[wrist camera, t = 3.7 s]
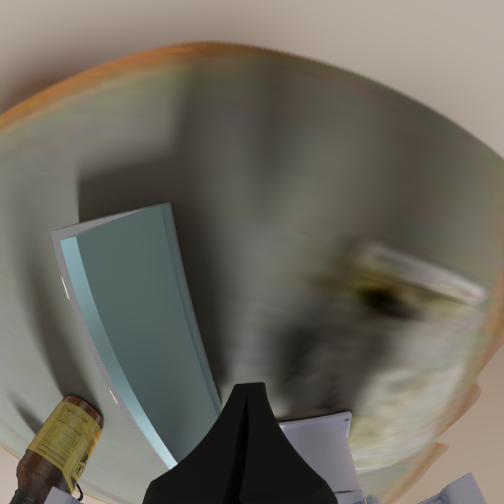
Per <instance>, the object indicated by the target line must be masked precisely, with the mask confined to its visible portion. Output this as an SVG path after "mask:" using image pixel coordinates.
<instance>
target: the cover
mask: <svg viewBox="0 0 504 504" xmlns="http://www.w3.org/2000/svg"><path fill="white" fill-rule="evenodd" d="M60 242H61V247H62V251H63V255H64V258H65V262H66V266H67V269H68V273H69V276H70V279H71V283H72V286H73V289H74V292H75V295H76V298H77V301H78V304H79V306H80V309H81V312H82V315H83V317H84V320H85V322H86V325H87V327H88V330H89V332H90V335H91V337H92V339H93V342H94V344H95V346H96V349H97V351H98V353H99V355H100V357H101V359H102V362H103V364H104V366H105V368H106V370H107V372H108V374H109V376H110V378H111V380H112V381H113V383H114V385H115V387H116V389H117V391H118V393H119V394H120V396H121V398H122V400H123V401H124V403H125V405H126V407H127V408H128V410H129V412H130V413H131V415H132V416H133V418H134V420H135V421H136V423H137V424H138V426H139V427H140V429H141V431H142V432H143V434H144V435H145V437H146V438H147V439H148V441H149V442H150V444H151V445H152V447H153V448H154V449H155V451H156V452H157V453H158V455H159V456H160V457H161V459H162V460H163V461H164V463H165V464H166V465H167V467H168V468H169V469H172V468H173V467H174V466H175V465H177V464H178V463H179V462H180V461H181V460H183V459H184V458H185V457H186V456H187V455H188V454H189V453H190V452H191V451H192V450H193V449H194V448H195V447H196V446H197V445H198V444H199V443H200V442H201V440H202V439H203V438H204V437H205V436H206V434H207V433H208V432H209V430H210V429H211V427H212V426H213V425H214V423H215V422H216V420H217V419H218V417H219V415H220V414H221V412H222V407H221V404H220V401H219V398H218V395H217V392H216V389H215V386H214V383H213V380H212V377H211V373H210V370H209V367H208V364H207V360H206V357H205V354H204V350H203V347H202V343H201V339H200V336H199V332H198V329H197V325H196V321H195V317H194V313H193V310H192V306H191V302H190V298H189V294H188V289H187V285H186V281H185V277H184V272H183V268H182V263H181V259H180V254H179V249H178V245H177V240H176V235H175V230H174V224H173V219H172V214H171V208H170V203H168V204H163V205H158V206H154V207H151V208H148V209H145V210H141V211H138V212H135V213H132V214H129V215H127V216H124V217H121V218H118V219H115V220H112V221H109V222H107V223H104V224H101V225H98V226H96V227H93V228H90V229H88V230H85V231H82V232H80V233H77V234H75V235H72V236H70V237H67V238H65V239H62V240H60Z"/></svg>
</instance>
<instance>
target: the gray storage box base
mask: <svg viewBox="0 0 504 504" xmlns="http://www.w3.org/2000/svg"><path fill="white" fill-rule="evenodd" d="M168 203H170V208H171V214H172V219H173V224H174V230H175V235H176V240H177V245H178V249H179V254H180V259H181V263H182V268H183V272H184V277H185V281H186V285H187V289H188V294H189V298H190V302H191V306H192V310H193V313H194V317H195V321H196V325H197V329H198V332H199V336H200V339H201V343H202V347H203V350H204V354H205V357H206V360H207V364H208V367H209V370H210V373H211V377H212V380H213V383H214V386H215V389H216V392H217V388H216V385H215V382H214V379H213V376H212V372H211V369H210V366H209V362H208V359H207V356H206V352H205V349H204V345H203V342H202V338H201V334H200V331H199V327H198V323H197V319H196V316H195V312H194V308H193V304H192V300H191V296H190V291H189V287H188V283H187V279H186V274H185V270H184V265H183V261H182V256H181V251H180V247H179V242H178V237H177V232H176V226H175V221H174V216H173V210H172V205H171V202H166V203H161V204H156V205H151V206H147V207H142V208H137V209H133V210H128V211H124V212H120V213H115V214H111V215H107V216H103V217H99V218H95V219H91V220H87V221H83V222H80V223H76V224H73V225H70V226H67V227H64V228H61V229H58V230H55V231H52V232H51V236H52V241H53V245H54V249H55V253H56V257H57V260H58V264H59V268H60V271H61V275H62V277H61V278H62V281H63V284H64V287H65V290H66V293H67V296H68V299H70V302H71V305H72V308H73V310H74V313H75V316H76V318H77V321H78V323H79V326H80V328H81V331H82V333H83V336H84V338H85V340H86V342H87V345H88V347H89V349H90V351H91V353H92V356H93V358H94V360H95V362H96V364H97V366H98V368H99V370H100V372H101V374H102V376H103V378H104V380H105V381H106V383H107V385H108V387H109V389H110V392H111V394H112V396H113V397H114V399H115V401H116V402H117V403H118V404H119V406H120V408H121V409H122V411H123V413H124V414H125V416H126V417H127V419H128V421H129V422H130V424H131V425H132V427H133V428H137V429H140V427H139V426H138V424H137V423H136V421H135V420H134V418H133V416H132V415H131V413H130V412H129V410H128V408H127V407H126V405H125V403H124V401H123V400H122V398H121V396H120V394H119V393H118V391H117V389H116V387H115V385H114V383H113V381H112V380H111V378H110V376H109V374H108V372H107V370H106V368H105V366H104V364H103V362H102V359H101V357H100V355H99V353H98V351H97V349H96V346H95V344H94V342H93V339H92V337H91V335H90V332H89V330H88V327H87V325H86V322H85V320H84V317H83V315H82V312H81V309H80V306H79V304H78V301H77V298H76V295H75V292H74V289H73V286H72V283H71V279H70V276H69V273H68V269H67V266H66V262H65V258H64V255H63V251H62V247H61V242H60V240H62V239H65V238H67V237H70V236H72V235H75V234H77V233H80V232H82V231H85V230H88V229H90V228H93V227H96V226H98V225H101V224H104V223H107V222H109V221H112V220H115V219H118V218H121V217H124V216H127V215H129V214H132V213H135V212H138V211H141V210H145V209H148V208H151V207H154V206H158V205H163V204H168ZM217 395H218V392H217ZM218 398H219V395H218ZM219 401H220V398H219ZM220 404H221V401H220ZM221 407H222V404H221Z"/></svg>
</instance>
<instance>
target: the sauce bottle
mask: <svg viewBox="0 0 504 504" xmlns="http://www.w3.org/2000/svg"><path fill="white" fill-rule="evenodd" d="M103 425H104V424H103V419H102V417H101V416H100V415H99V414H98V412H97V411H96V410H95V409H94V408H93V407H92V406H91V405H89V404H88V403H87V402H85V401H83V400H82V399H80V398H78V397H76V396H75V397H74V396H68V397H65V398H64V399H63V400H62V402H60V403H59V404H58V405H57V407H56V408H55V409H54V411H53V412H52V413H51V415H50V416H49V417H48V419H47V420H46V422H45V423H44V425H43V426H42V427H41V429H40V430H39V432H38V433H37V435H36V436H35V438H34V439H33V440H32V442H31V443H30V445H29V446H28V448H27V449H26V453H25V455H24V456H23V458H22V459H21V460H20V462H19V464H18V466H17V475H16V476H17V478H18V489H17V490H16V491H15V495H14V497H13V498H12V500H11V502H10V504H44V503H45V501H46V499H47V497H48V495H49V493H50V491H51V489H52V487H56V488H58V489H60V490H62V491H64V492H66V493H68V494H69V495H71V496H72V494H73V491H74V489H75V487H76V485H77V483H78V481H79V479H80V477H81V475H82V473H83V470H84V468H85V466H86V464H87V462H88V460H89V458H90V456H91V454H92V452H93V450H94V448H95V446H96V444H97V442H98V440H99V438H100V436H101V431H102V429H103Z"/></svg>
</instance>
